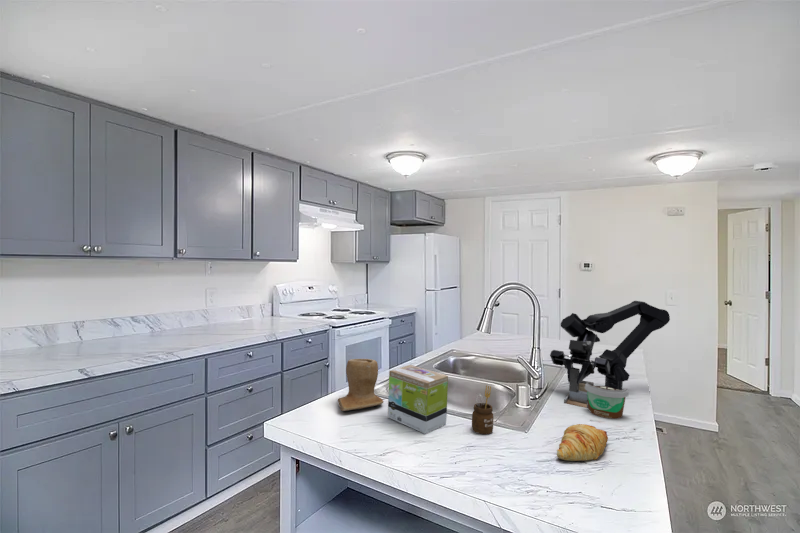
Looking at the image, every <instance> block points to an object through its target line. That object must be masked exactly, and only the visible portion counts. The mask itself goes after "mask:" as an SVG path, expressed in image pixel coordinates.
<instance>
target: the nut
mask: <svg viewBox="0 0 800 533" xmlns="http://www.w3.org/2000/svg"><path fill="white" fill-rule="evenodd" d="M579 391H584V392H587V390H586V389H585V384H583V383H579Z"/></svg>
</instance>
